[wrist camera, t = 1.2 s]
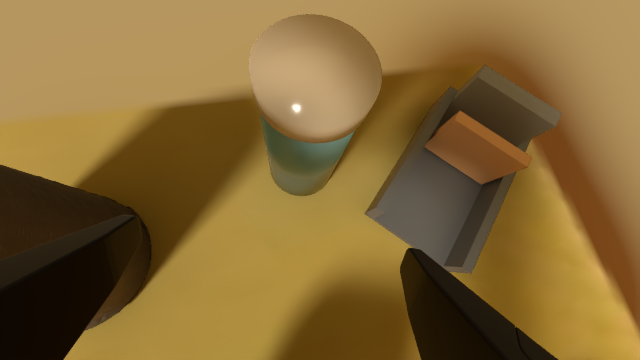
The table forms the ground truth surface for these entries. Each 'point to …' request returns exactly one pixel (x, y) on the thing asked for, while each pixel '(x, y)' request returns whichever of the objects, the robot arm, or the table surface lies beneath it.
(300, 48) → the jar
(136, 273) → the pillar candle
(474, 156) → the plate
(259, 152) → the table surface
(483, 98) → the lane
